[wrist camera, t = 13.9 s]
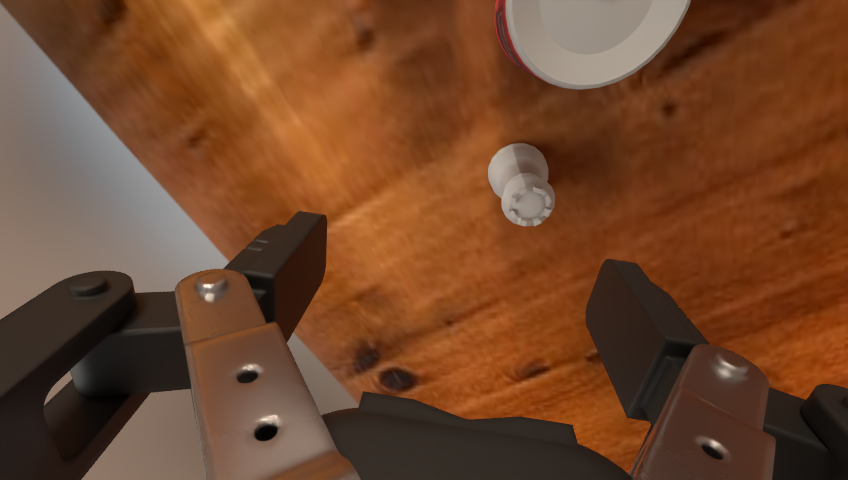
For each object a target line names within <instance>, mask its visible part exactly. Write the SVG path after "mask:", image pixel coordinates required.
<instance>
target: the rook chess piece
mask: <svg viewBox="0 0 848 480" xmlns="http://www.w3.org/2000/svg"><path fill="white" fill-rule="evenodd" d="M488 178H489V182H490V184H491V186H492V188H493V190H494V192H495V193H496V194H497V195H498V196H499V197H500V198H502V210H503V212H504V214H505V216H506V217H507V218H508V219H509V220H510V221H512V222H513V223H515V224H518V225H521V226H533V225H534V226H536V225H538V224H541V223H542V222H543V221H544V220H545V219H546V218H547V217H548V216H549V215H550V214H551V212H552V210H553V208H554V206H555V194H554V191H553V189H552V187H551V185H549V184H548V183H547V181H548V166H547V163H546V160H545V158H544V156H543V154H542V153H541V152H540V151H539V150H538V149H537V148H535V147H534V146H531V145H528V144H525V143H517V144H510V145H508V146H506V147H504V148H502V149H500V150H499V151H498V152H497V153H496V155H495V156H494V157H493V158H492V160H491V163H490V165H489V168H488Z"/></svg>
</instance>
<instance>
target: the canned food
mask: <svg viewBox="0 0 848 480" xmlns="http://www.w3.org/2000/svg"><path fill="white" fill-rule="evenodd" d="M690 2H691V0H496V5H495V28H496V33H497V38H498V40H499V43H500V45H501V48H502V49H503V51H504V52H505V54H506V55H507V57H508V58H509V59H510V60H511V61H512V62H513V63H514V64H515V65H516V66H518V67H519V68H521V69H523V70H524V71H526V72H528V73H530V74H532V75H533V76H535V77H537V78H539V79H541V80H543V81H544V82H547V83H550V84H553V85H556V86H559V87H562V88H569V89H579V90H580V89H590V88H599V87H603V86H606V85H609V84H612V83H616V82H618V81H620V80H622V79H624V78H626V77H628V76H630V75H632V74H634V73H635V72H636V71H638V70H639V69H640V68H642V67H643V66H644V65H646V64H647V63H648V62H650V61H651V60H652V59H653V58H654V57H655V56H656V55H657V54H658V53H659V52H660V51H661V50H662V49H663V48H664V47H665V45H666V44H667V43H668V41H669V40H670V39H671V37H672V36H673V34H674V33H675V32H676V30H677V29H678V27H679V25H680V23H681V21H682V19H683V18H684V16H685V14H686V12H687V10H688V8H689V5H690Z"/></svg>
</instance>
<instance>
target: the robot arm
mask: <svg viewBox="0 0 848 480" xmlns="http://www.w3.org/2000/svg"><path fill="white" fill-rule="evenodd" d="M326 243H327V218H326V216H325V215H322V214H315V213H309V212H302V211H298V212H297V213H296V214H295V215H294V216H293V217H292V218H291V219H290V220H289V221H288V223H287V224H286V225H276V226H273V227H271V228H269V229H266V230H264V231H262V232H261V233H260V234H259V235H258V236H257V237H256V238H255V239H254V241H253V242H251V243H250V244H249V245H248V246H247V247H246V249H243V250H242V251H241V252H240V253H239V254H238V255H237V256H236V257H235V258H234V259H233V260H232V261H231V262H230V263H229V264H228V265H227V266H226V267H225V268H223V269H212V270H205V271H200V272H197V273H194V274H192V275H189V276H188V277H186V278H184V279H182V280H181V281H180V282H179V283H178V284H177V286H176V288H175V291H172V292H149V293H135V291H134V286H133V281H132V279H131V277H129V276H128V275H126V274H124V273H121V272H116V271H94V272H88V273H83V274H79V275H75V276H72V277H69V278H67V279H64V280H63V281H60V282H58V283H56V284H55V285H53V286H51V287H50V288H48V289H47V290H45V291H44V292H42V293H41V294H39V295H38V296H36V297H35V298H33V299H31V300H30V301H28V302H27V303H25V304H24V305H22V306H21V307H19V308H18V309H16V310H15V311H13V312H11V313H10V314H8V315H7V316H5V317H4V318H2V319H1V320H0V480H81V479H82V478H83V477H84V475H85V474H86V473H87V472H88V471H89V469H90V468H91V467H92V466H93V464H94V463H95V462H96V461H97V459H98V458H99V457H100V456H101V454H102V453H103V452H104V451H105V449H106V448H107V447H108V445H109V444H110V443H111V442H112V440H113V439H114V438H115V437H116V435H117V434H118V433H119V432H120V430H121V429H122V428H123V426H124V425H125V424H126V423H127V422H128V420H129V419H130V418H131V417H132V415H133V414H134V413H135V412H136V410H137V409H138V408H139V407H140V405H141V404H142V403H143V401H144V400H145V399H146V398H147V397H148V395H149V394H150V393H151V392H161V391H172V390H182V389H191V395H192V400H193V406H194V411H195V418H196V423H197V429H198V435H199V440H200V446H201V451H202V457H203V463H204V468H205V475H206V480H848V389H846V388H843V387H840V386H836V385H830V384H821V385H818V386H816V388H815V389H814V390H813V392H812V393H811V394H810V396H809V397H808V398H807V400H804V399H801V398H798V397H795V396H793V395H790V394H787V393H784V392H781V391H778V390H775V389H772V388H769V382H768V379H767V378H766V376H765V375H764V373H763V372H762V371H761V370H760V369H759V368H758V367H757V366H755V365H754V364H753V363H752V362H750V361H749V360H747V359H746V358H744V357H742V356H740V355H738V354H736V353H734V352H732V351H730V350H728V349H725V348H722V347H719V346H715V345H710V344H709V343H708V342H707V340H706V339H705V338H704V337H703V335H702V334H701V333H700V332H699V331H698V329H697V328H696V327H695V326H694V324H693V323H692V322H691V321H690V320H689V318H686V315H685V314H684V312H683V311H682V310H681V309H680V308H678V305H677V304H676V303H675V301H674V300H673V299H672V298H671V296H670V295H669V294H668V293H666V292H665V291H664V290H662V289H661V288H659V287H658V286H657V285H655V284H654V283H652V282H651V281H650V280H649V278H648V277H647V276H646V275H645V273H644V272H643V271H642V270H641V268H640V267H639V266H638V265H637V264H636V263H632V262H626V261H619V260H612V259H607V260H605V261H604V263H603V264H602V266H601V269H600V271H599V274H598V277H597V280H596V282H595V285H594V288H593V290H592V293H591V296H590V298H589V301H588V304H587V308H586V325H587V328H588V330H589V332H590V334H591V337H592V339H593V341H594V343H595V346H596V348H597V350H598V352H599V355H600V357H601V359H602V362H603V364H604V366H605V368H606V371H607V373H608V375H609V377H610V380H611V382H612V384H613V386H614V389H615V391H616V393H617V396H618V398H619V400H620V402H621V405H622V407H623V409H624V411H625V414H626V416H627V418H632V419H639V420H645V421H650V423H651V427H650V429H649V431H648V432H647V434H646V436H645V438H644V440H643V442H642V444H641V447H640V449H639V451H638V453H637V455H636V457H635V459H634V461H633V463H632V465H631V467H630V469H629V471H628V473H626V472H625V471H624V470H623V469H622V468H620V467H619V466H617V465H616V464H615V463H613V462H612V461H610V460H609V459H607V458H605V457H604V456H602V455H600V454H599V453H597V452H595V451H593V450H591V449H589V448H587V447H585V446H583V445H580V444H578V443H577V439H576V436H575V432H574V429H573V425H570V424H563V423H557V422H551V421H545V420H538V419H532V418H526V417H507V418H491V419H475V420H469V419H464V418H461V417H458V416H456V415H453V414H450V413H448V412H445V411H443V410H440V409H437V408H435V407H432V406H430V405H427V404H424V403H422V402H419V401H416V400H413V399H407V398H401V397H395V396H388V395H382V394H376V393H370V392H363V394H362V397H361V401H360V404H359V408H352V409H351V408H350V409H344V410H338V411H335V412H331V413H327V414H324V415H320V413H319V410H318V408H317V406H316V404H315V402H314V400H313V398H312V396H311V393H310V391H309V389H308V387H307V385H306V383H305V381H304V379H303V376H302V374H301V372H300V370H299V368H298V366H297V364H296V362H295V360H294V357H293V355H292V353H291V351H290V349H289V347H288V345H287V342H288V340H289V338H290V337H291V335H292V333H293V331H294V330H295V328H296V326H297V325H298V323H299V321H300V319H301V318H302V316H303V314H304V312H305V311H306V309H307V307H308V306H309V304H310V302H311V300H312V299H313V297H314V295H315V293H316V292H317V290H318V288H319V287H320V285H321V283H322V280H323V277H324V273H325V268H326ZM68 371H70V373H71V376H72V380H71V381H70V382H69V383H68V384H67V385H66V386H65V387H64V388H62V390H60V391H59V392H58V393H57V394H56V395H55V396H54V397H53V398H52V399H51V400H50V401H49V402H48V403H46V405H44V402H45V399H46V397H47V395H48V393H49V391H50V390H51V388H52V387H53V386H54V385H55V384H56V382H58V381H59V380H60V379H61V378H62V377H63V376H64V375H65V374H66V373H67V372H68Z"/></svg>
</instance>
